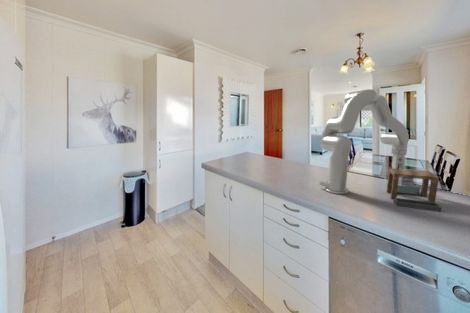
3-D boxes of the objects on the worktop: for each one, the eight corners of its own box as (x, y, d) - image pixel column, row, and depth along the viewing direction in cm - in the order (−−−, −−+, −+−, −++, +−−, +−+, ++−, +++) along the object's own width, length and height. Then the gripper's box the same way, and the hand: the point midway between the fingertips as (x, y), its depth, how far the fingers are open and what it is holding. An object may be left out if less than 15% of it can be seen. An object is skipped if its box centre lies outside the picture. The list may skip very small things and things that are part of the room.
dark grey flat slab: (396, 205, 102) (396, 201, 101) (393, 201, 107) (394, 197, 107) (440, 211, 95) (441, 207, 94) (435, 206, 100) (435, 202, 100)
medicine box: (400, 192, 119) (402, 177, 118) (393, 190, 124) (394, 175, 122) (412, 191, 121) (414, 176, 119) (404, 189, 125) (406, 174, 124)
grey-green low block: (392, 191, 120) (393, 179, 119) (384, 180, 142) (385, 169, 141) (419, 194, 115) (420, 182, 113) (406, 182, 137) (407, 171, 136)
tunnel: (391, 199, 109) (394, 173, 107) (386, 191, 121) (389, 168, 119) (434, 204, 102) (438, 177, 100) (425, 195, 114) (428, 171, 111)
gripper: (410, 154, 126) (406, 182, 129) (402, 150, 141) (399, 175, 144) (394, 153, 129) (391, 181, 132) (389, 149, 144) (386, 174, 147)
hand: (395, 178), depth 138 cm, fingers open, 9 cm apart
